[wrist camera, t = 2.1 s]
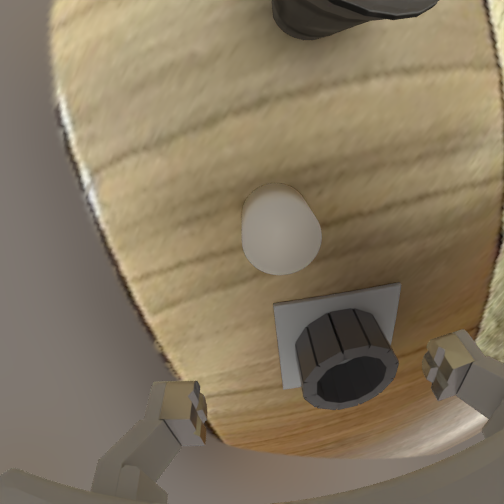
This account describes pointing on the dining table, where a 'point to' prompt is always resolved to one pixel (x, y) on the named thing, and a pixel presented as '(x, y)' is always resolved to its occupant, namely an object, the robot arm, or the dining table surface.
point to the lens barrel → (338, 345)
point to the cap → (279, 230)
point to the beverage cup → (340, 14)
